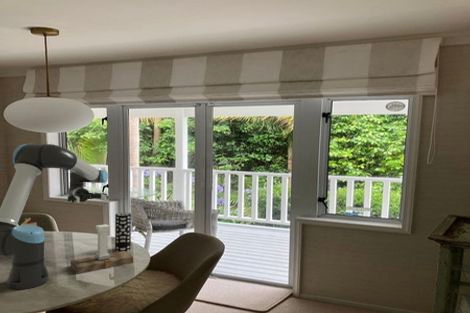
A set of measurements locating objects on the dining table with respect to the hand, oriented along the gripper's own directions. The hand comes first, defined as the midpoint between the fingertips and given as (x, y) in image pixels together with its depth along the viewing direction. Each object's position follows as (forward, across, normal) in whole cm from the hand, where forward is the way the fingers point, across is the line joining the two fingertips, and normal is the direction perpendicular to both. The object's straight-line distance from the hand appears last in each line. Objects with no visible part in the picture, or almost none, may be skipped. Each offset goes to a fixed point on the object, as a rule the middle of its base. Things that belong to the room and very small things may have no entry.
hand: (92, 199), depth 181 cm
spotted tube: (-1, -17, -30) cm, 35 cm away
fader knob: (+17, 0, -26) cm, 31 cm away
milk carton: (-21, +26, -30) cm, 45 cm away
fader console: (+17, 0, -30) cm, 34 cm away
